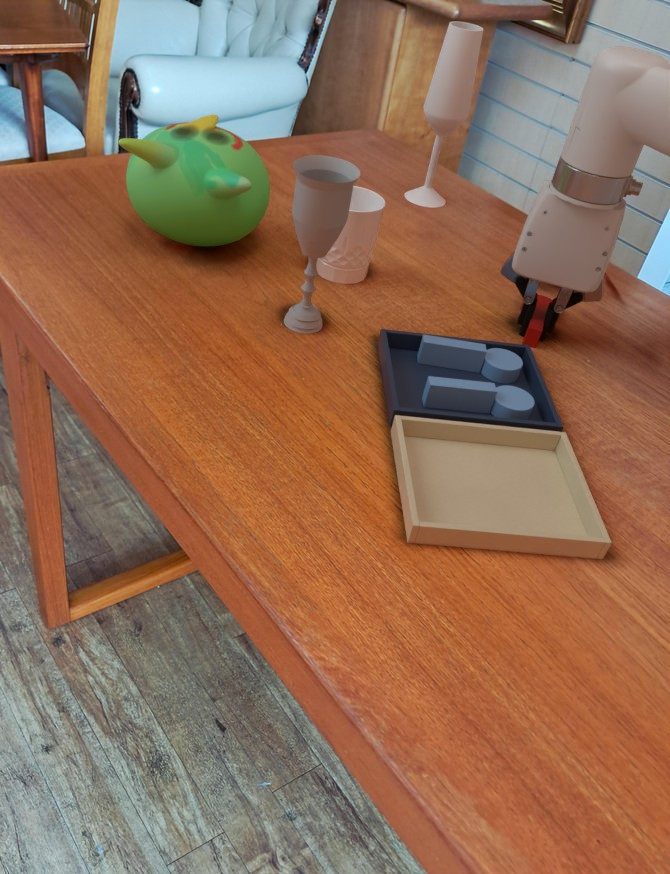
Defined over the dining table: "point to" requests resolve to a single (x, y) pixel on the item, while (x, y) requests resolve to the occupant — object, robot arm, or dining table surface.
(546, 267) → the robot arm
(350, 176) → the chalice
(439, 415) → the blue tray
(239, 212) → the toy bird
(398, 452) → the cream tray
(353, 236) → the white cup
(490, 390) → the blue spoon
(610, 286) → the dining table surface
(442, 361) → the blue spoon
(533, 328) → the red spoon
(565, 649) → the dining table surface
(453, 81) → the champagne flute
